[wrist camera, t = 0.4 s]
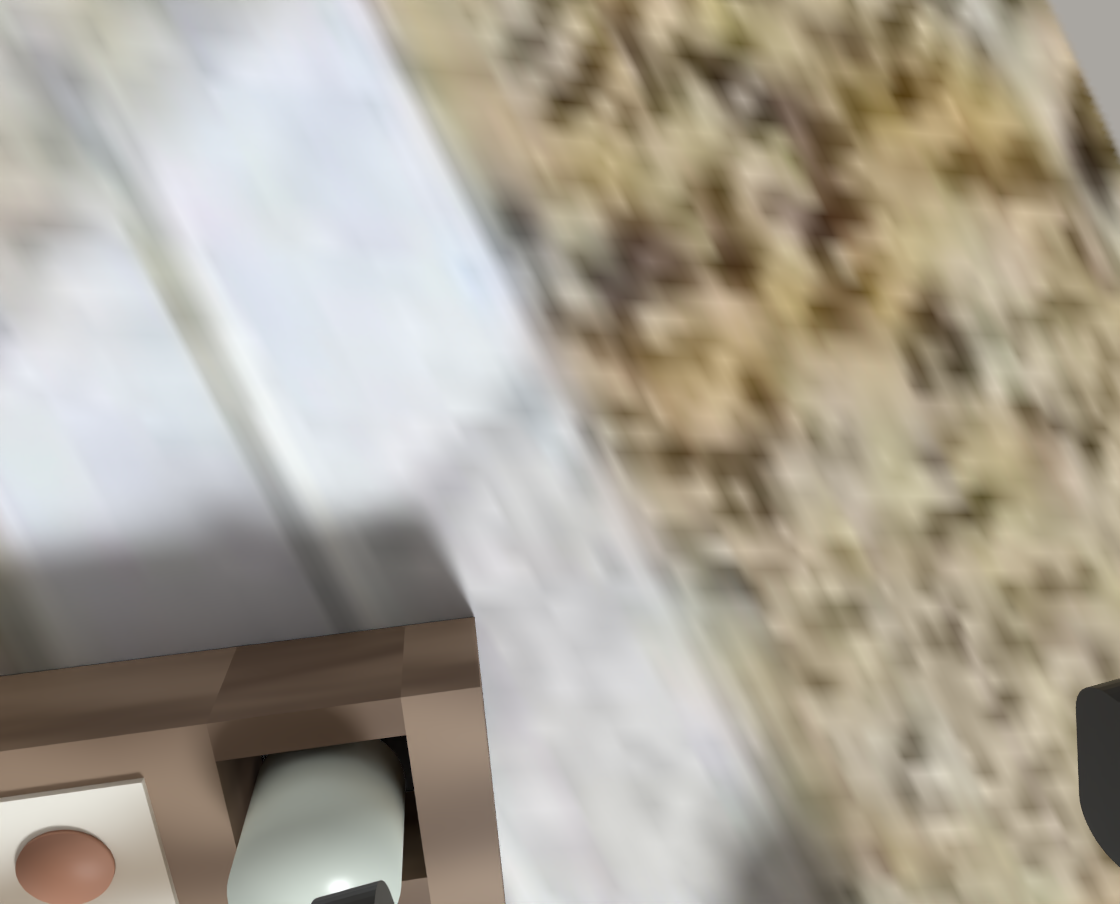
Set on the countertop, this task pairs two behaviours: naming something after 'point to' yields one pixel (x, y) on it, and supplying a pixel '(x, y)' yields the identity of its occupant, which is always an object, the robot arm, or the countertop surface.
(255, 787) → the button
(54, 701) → the brown wooden tray
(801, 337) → the countertop surface
